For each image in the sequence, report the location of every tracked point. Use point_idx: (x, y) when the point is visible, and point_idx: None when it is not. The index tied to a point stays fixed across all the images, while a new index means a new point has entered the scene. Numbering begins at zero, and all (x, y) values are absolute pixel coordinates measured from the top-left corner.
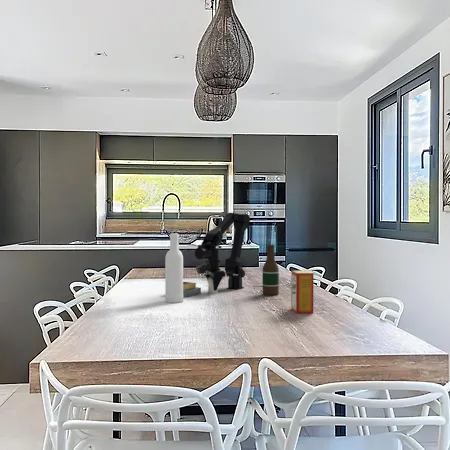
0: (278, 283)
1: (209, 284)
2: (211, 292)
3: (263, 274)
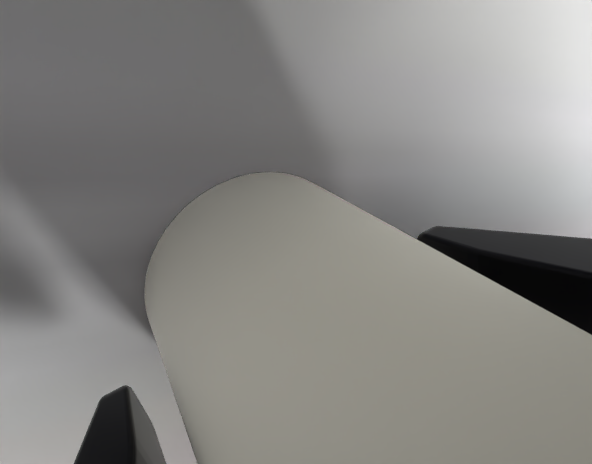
0: None
1: (311, 348)
2: (154, 271)
3: None
